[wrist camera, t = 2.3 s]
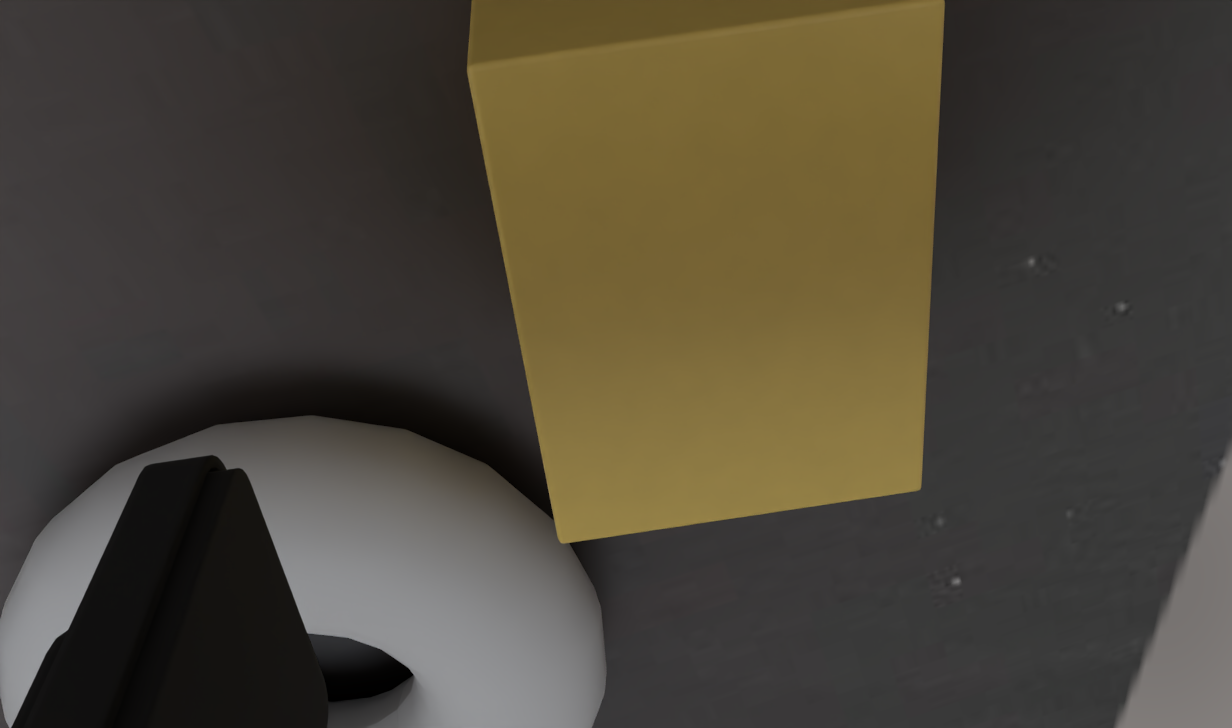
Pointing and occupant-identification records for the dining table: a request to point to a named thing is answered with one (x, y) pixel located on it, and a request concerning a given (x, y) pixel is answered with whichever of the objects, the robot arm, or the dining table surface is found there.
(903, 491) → the cheese
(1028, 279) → the dining table surface
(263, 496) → the donut
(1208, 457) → the dining table surface
